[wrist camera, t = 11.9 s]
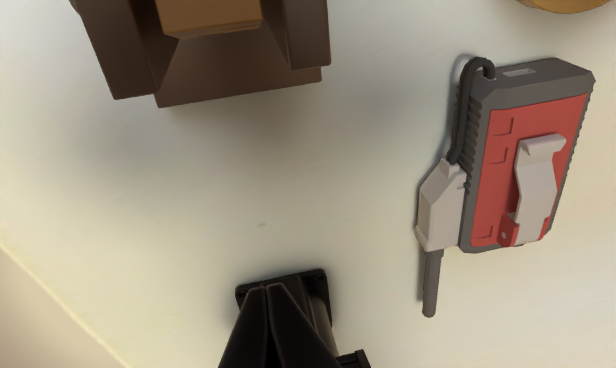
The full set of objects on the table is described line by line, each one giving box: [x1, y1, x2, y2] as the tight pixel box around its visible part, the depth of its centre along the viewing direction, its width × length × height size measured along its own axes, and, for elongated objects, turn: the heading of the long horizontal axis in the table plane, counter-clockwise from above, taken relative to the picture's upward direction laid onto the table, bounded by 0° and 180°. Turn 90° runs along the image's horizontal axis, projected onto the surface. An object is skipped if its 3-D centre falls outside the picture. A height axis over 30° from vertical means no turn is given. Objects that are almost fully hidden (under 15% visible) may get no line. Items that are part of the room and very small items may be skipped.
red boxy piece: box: [415, 57, 596, 318], centre depth 25 cm, size 9×4×20 cm
